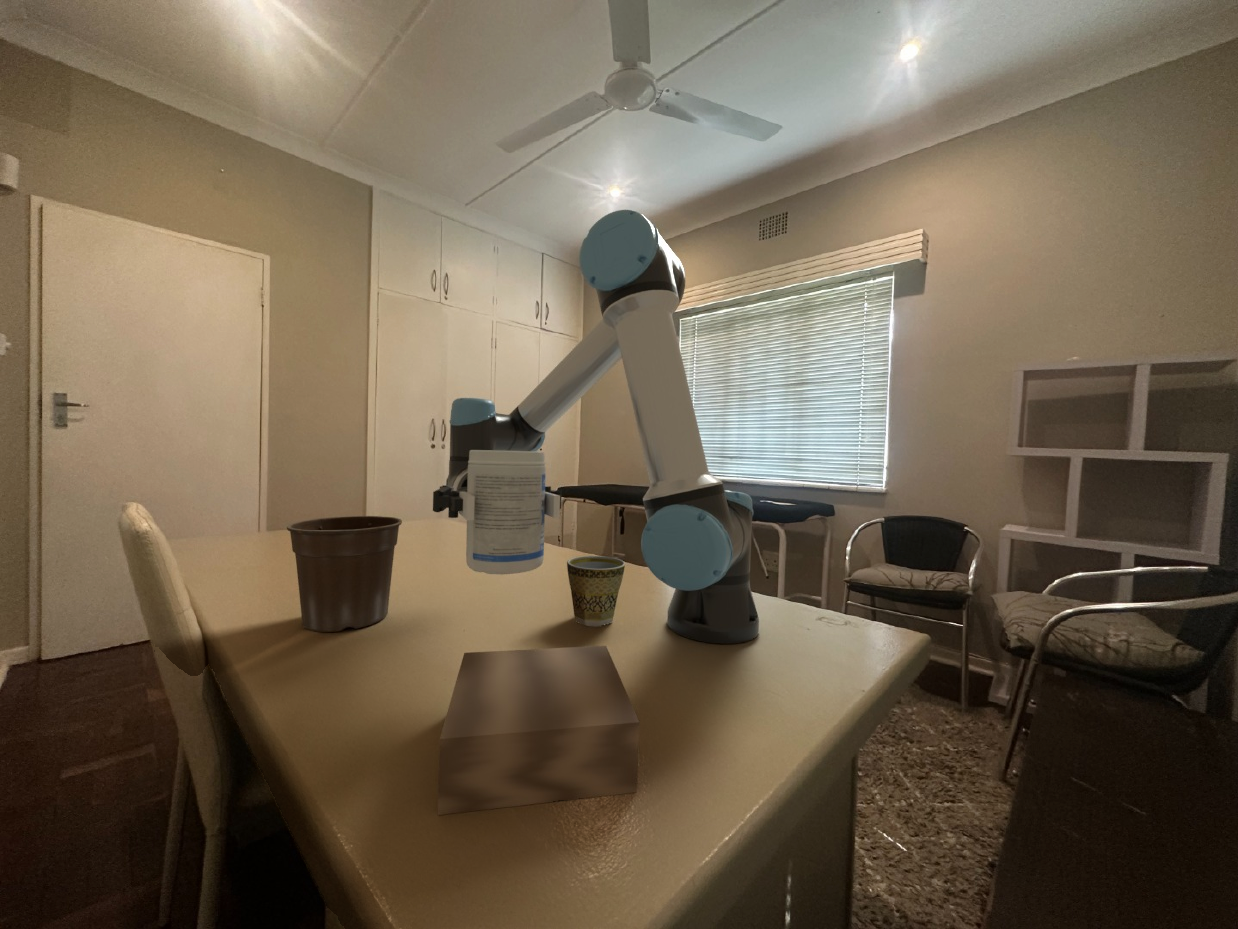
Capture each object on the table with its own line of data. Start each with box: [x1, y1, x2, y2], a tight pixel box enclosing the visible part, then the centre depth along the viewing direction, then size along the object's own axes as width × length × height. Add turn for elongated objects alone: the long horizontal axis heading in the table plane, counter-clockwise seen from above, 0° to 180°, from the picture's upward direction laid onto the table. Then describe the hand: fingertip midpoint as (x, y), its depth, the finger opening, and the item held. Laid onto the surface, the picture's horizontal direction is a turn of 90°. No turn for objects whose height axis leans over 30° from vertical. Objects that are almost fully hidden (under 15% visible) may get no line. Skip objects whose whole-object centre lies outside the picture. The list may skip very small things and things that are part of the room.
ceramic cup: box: [566, 555, 626, 627], centre depth 82 cm, size 13×10×10 cm
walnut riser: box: [437, 645, 640, 816], centre depth 46 cm, size 16×16×6 cm
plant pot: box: [286, 515, 403, 633], centre depth 77 cm, size 16×16×16 cm
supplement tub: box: [465, 450, 546, 575], centre depth 59 cm, size 10×10×15 cm
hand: (515, 507), depth 55 cm, fingers closed on supplement tub, 9 cm apart
